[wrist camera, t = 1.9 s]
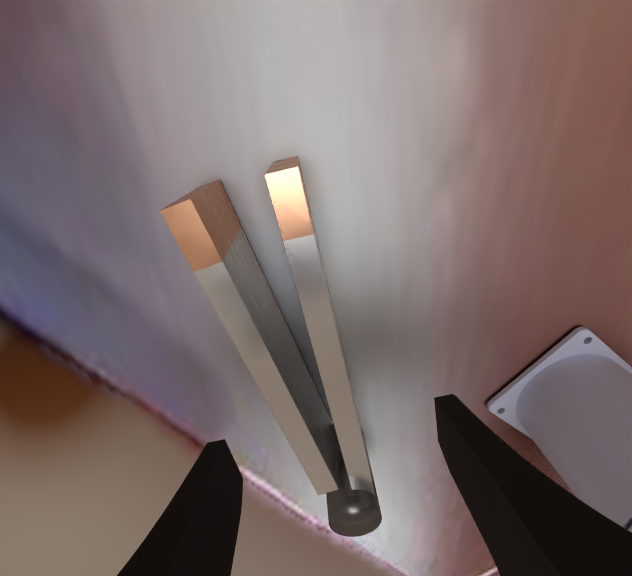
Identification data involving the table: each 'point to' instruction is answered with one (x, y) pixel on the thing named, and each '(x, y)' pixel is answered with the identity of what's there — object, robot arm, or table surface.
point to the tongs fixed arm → (325, 354)
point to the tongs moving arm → (254, 324)
